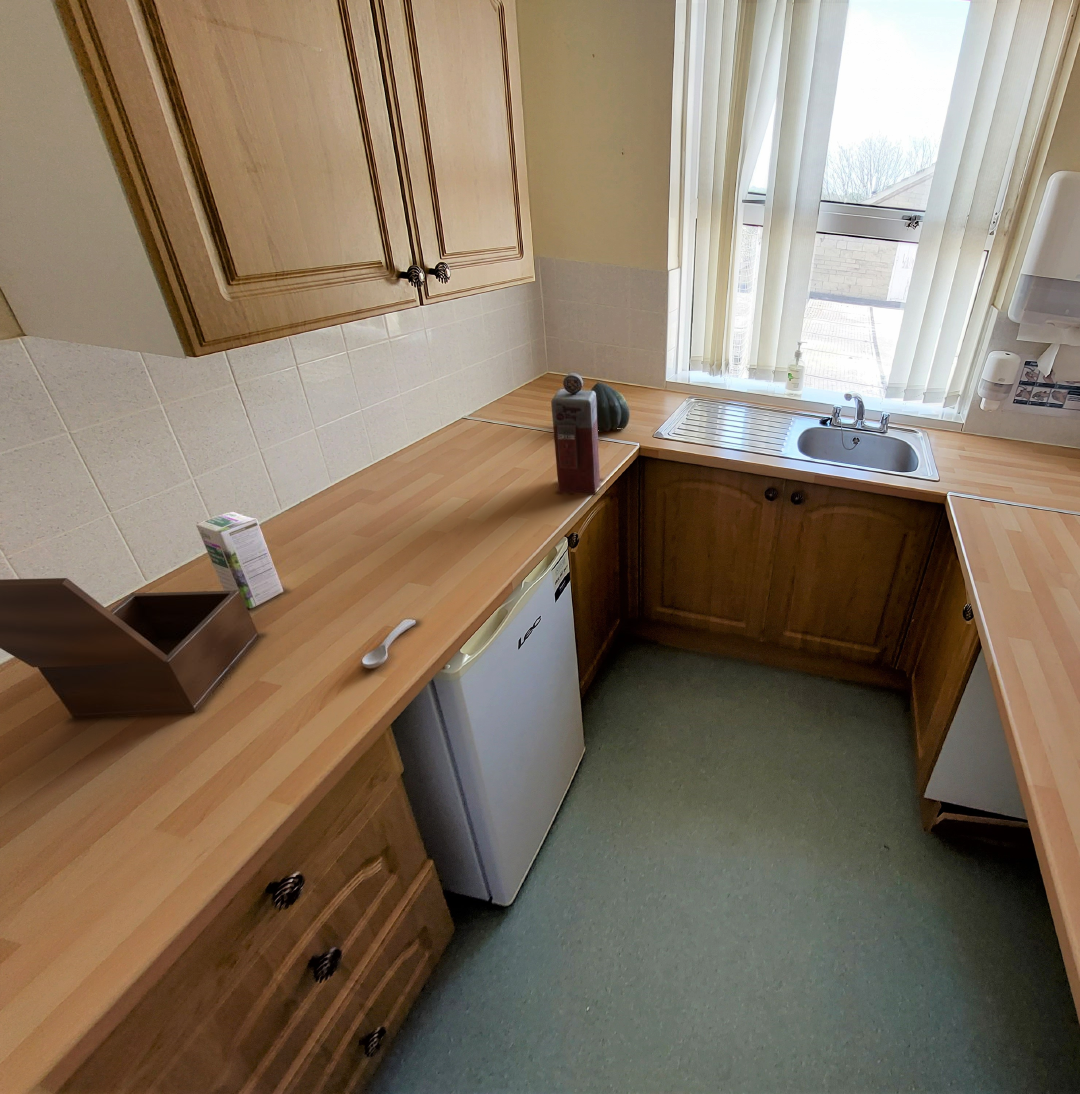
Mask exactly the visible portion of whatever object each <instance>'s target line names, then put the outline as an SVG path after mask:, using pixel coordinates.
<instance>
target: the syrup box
mask: <svg viewBox="0 0 1080 1094" xmlns="http://www.w3.org/2000/svg"><path fill="white" fill-rule="evenodd" d="M259 524H260V523H259V521H258V519H257V518H255V517H250V516H248V515H245V514H241V513H238V512H235V511H230V512H225V513H222V514H219V515H216V516H212V517H210V518H208V519H205V520H203V521H201V522H199V523H197V524H196V525H195V526H196V528H197V531H198V533H199V535H200V538H201V540H202V542H203V545H204V548H205V549H206V552H207V554H208V557H209V560H210V561H211V564H212V566H213V569H214V571H215V574H216V577H217V578H218V580H219V582H220V585H221V587H222V591H233V590H239V591H240V593H241V595H242V598H243V600H244V602H245V604H246V607H247V609H253V608H255V607H257V606H259V605H262V604H263V603H265V602H267V601H269V600H271V599H272V598H275V597H276V596H278V595H280V594H282V593H284V588H283V585H282V584H281V581H280V578H279V575H278V572H277V570H276V567H275V565H274V562H273V559H272V557H271V554H270V551H269V548H268V546H267V543H266V540H265V537H264V535H263V532H262V529H261V527H260V525H259Z"/></svg>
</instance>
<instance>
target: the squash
mask: <svg viewBox="0 0 1080 1094" xmlns="http://www.w3.org/2000/svg"><path fill="white" fill-rule="evenodd" d="M589 390H590V391H594V392H595V393H596V407H597V430H599V431H598V433H599V432H600V433H602V432H604V431H610V430H611V429H612V430H614V431H622V430H624V429H625V428H626V427H627V426H628V424H629V422H630V417H631V416H630V407H629V404H628V401H627V400H626V398H625V397H624V395H623V393H621V392H619V391H618V390H616V389H615V388H614V387H612V386H610V385H608V384H606V383H604V382H600V381H598V382H596V383H595V384H594V385H593V386H592V388H590V389H589ZM617 428H623V429H617Z"/></svg>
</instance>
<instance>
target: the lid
mask: <svg viewBox="0 0 1080 1094" xmlns="http://www.w3.org/2000/svg"><path fill="white" fill-rule="evenodd" d="M0 650H3V651H4V652H6V653H7V654H9V655H11V656H12V657H14V658H16V659H17V660H19V661H21V662H23V663H24V664H26V665H28V666H30V667H31V668H38V667H54V666H76V665H98V664H120V663H142V662H164V661H165V660H166V658H167V655H165V654H164V653H163V652H162V651H160V650H159V649H158V648H156V647H155V646H154V645H153V644H151V643H150V642H149V641H147V640H146V639H145V638H144V637H142V636H141V635H140V634H138V633H137V632H136V631H135V630H133V629H132V628H131V627H129V626H128V625H127V624H126V623H124V622H123V621H122V620H120V619H119V618H118V617H117V616H115V615H114V614H113V613H111V612H110V610H109V609H107V608H106V607H105V606H104V605H103V604H102V603H100V602H99V601H97V599H95V598H94V597H92V596H91V595H90V594H88V593H87V592H86V591H84V590H83V589H82V588H81V587H79V586H78V585H77V584H76V583H75V582H73V581H72V580H70V579H69V578H68V577H51V578H49V577H47V578H8V579H7V578H6V579H5V578H3V579H0Z"/></svg>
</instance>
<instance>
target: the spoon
mask: <svg viewBox="0 0 1080 1094" xmlns="http://www.w3.org/2000/svg"><path fill="white" fill-rule="evenodd" d="M415 625H416V620H415V619H411V618H410V619H409V618H408V619H403V620H402V621H401V622H400V623H399V624H398V625H397V626H396V627H395V628H393V630H392V631H391V632H390V633H389V634H388V635H387V636H386V637H385V638H384V640H383V641H382V643H380V645H379V646H378V647H376V648H375V649H374V650H372V651H369V652H368V653H366V654H365V656H364V657H362V660H361V665H362V667H364V668H365V669H376V668H377V667H380V666H381V665H383V664H384V663H385V662H386V660H387V659H388V648H389V647H390V646H391V644H392V643H393V642H394V641H395V640H396V639H397V638H398V637H399V636H400V635H401V634H402V633H404V632H406V631H407V630H408V629H410V628H412V627H413V626H415Z"/></svg>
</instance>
